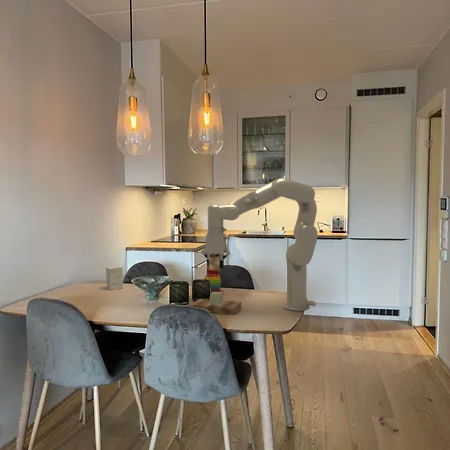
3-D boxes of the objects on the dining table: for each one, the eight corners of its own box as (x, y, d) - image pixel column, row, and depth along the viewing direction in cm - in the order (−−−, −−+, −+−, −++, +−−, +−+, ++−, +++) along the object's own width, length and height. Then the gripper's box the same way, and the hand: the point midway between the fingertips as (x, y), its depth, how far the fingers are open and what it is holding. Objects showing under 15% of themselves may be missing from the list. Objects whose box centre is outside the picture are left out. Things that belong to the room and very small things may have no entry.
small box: (119, 286, 248) (118, 265, 247) (123, 288, 243) (122, 267, 242) (106, 288, 243) (105, 267, 242) (110, 290, 238) (109, 268, 237)
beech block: (222, 268, 197) (222, 256, 196) (219, 270, 192) (219, 257, 191) (212, 267, 198) (212, 255, 198) (209, 269, 193) (209, 257, 193)
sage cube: (223, 302, 198) (223, 292, 198) (219, 305, 193) (219, 294, 193) (213, 301, 199) (213, 291, 199) (210, 304, 195) (209, 294, 194)
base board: (241, 307, 199) (241, 301, 199) (234, 314, 188) (234, 308, 187) (199, 304, 205) (199, 298, 205) (190, 311, 194) (190, 304, 194)
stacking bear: (220, 297, 220) (220, 265, 219) (202, 296, 222) (201, 264, 221) (224, 292, 231) (224, 261, 229) (207, 291, 233) (206, 261, 231)
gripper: (234, 230, 195) (234, 267, 196) (201, 229, 200) (201, 265, 201) (230, 231, 188) (230, 270, 189) (196, 230, 193) (196, 268, 194)
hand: (215, 267), depth 195 cm, fingers closed on beech block, 5 cm apart
